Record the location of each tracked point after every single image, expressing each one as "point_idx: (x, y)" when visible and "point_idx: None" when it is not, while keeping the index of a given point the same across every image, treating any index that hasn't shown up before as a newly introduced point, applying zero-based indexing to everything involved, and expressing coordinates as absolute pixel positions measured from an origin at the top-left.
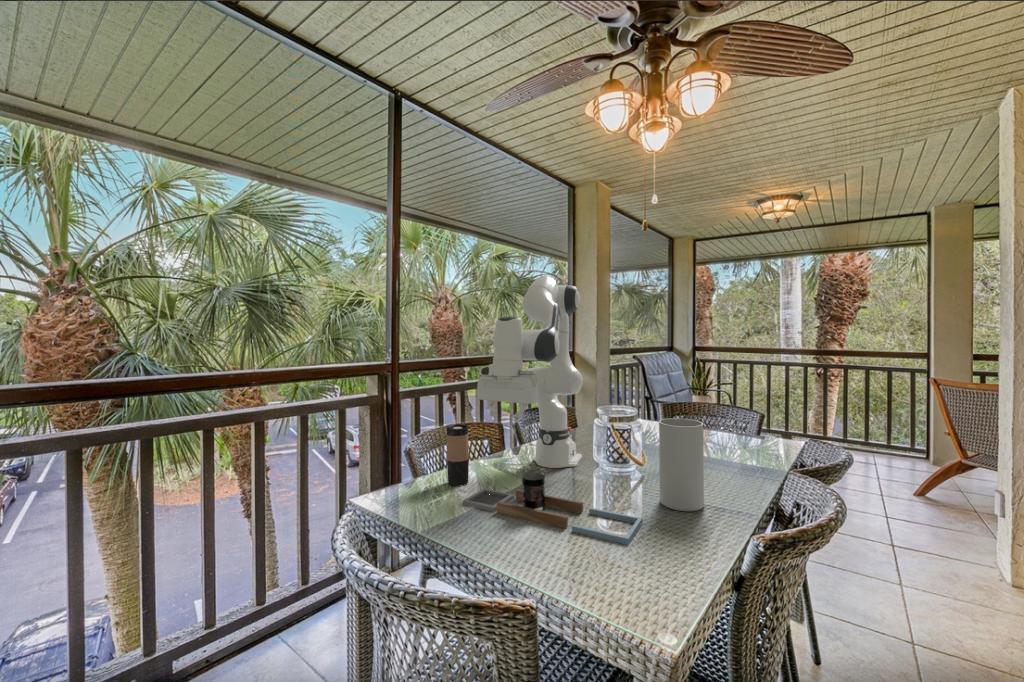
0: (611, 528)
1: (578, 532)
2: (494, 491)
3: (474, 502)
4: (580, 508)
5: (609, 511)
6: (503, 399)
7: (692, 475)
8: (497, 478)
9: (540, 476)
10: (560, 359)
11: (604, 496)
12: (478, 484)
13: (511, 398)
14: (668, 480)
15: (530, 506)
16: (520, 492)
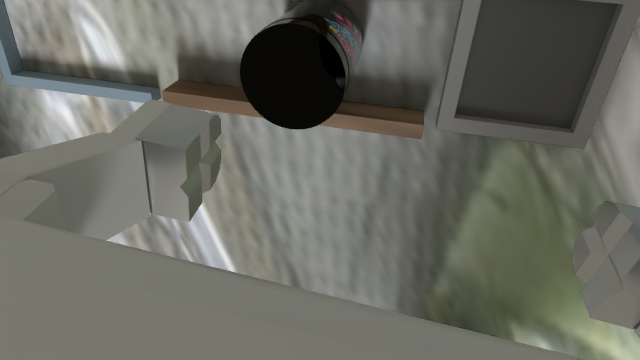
0: (60, 9)
1: None
2: (527, 132)
3: None
4: (174, 86)
5: (94, 94)
6: (395, 349)
7: None
8: (566, 273)
9: (263, 89)
10: None
11: (181, 220)
12: (630, 205)
13: (88, 314)
14: None
15: (310, 2)
16: (402, 120)
